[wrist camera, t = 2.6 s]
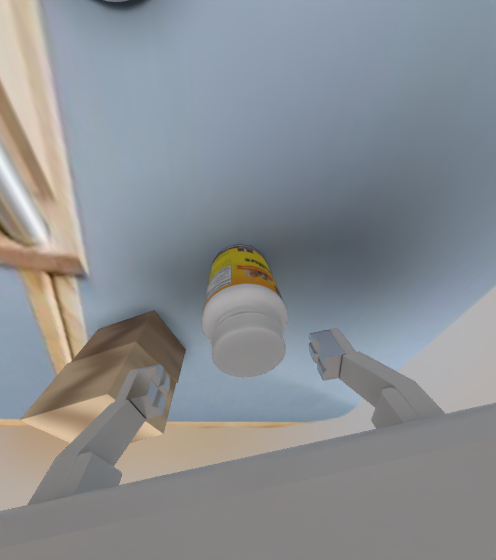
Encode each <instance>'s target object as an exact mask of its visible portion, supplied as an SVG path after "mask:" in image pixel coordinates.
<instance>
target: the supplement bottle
mask: <svg viewBox="0 0 496 560" xmlns="http://www.w3.org/2000/svg"><path fill="white" fill-rule="evenodd" d="M287 323H288V314H287V309H286V307H285V304H284V301H283V299H282V297H281V295H280V292H279V290H278V288H277V285H276V283H275V281H274V278H273V276H272V274H271V271H270V269H269V267H268V265H267V262H266V260H265V259H264V257H263V256H262V255H261V253H259V252H258V251H257V250H255V249H254V248H251V247H248V246H244V245H236V246H231V247H228V248H226V249H224V250H223V251H221V252H220V253H219V254H218V255H217V256H216V258H215V259H214V261H213V264H212V267H211V272H210V278H209V283H208V288H207V293H206V298H205V303H204V309H203V314H202V328H203V331H204V334H205V336H206V338H207V339H208V340H209V341H210V343H211V344H212V359H213V362H214V364H215V365H216V366H217V367H218V368H219V369H220V370H221V371H222V372H224V373H226V374H229V375H232V376H236V377H253V376H258V375H262V374H264V373H267V372H269V371H271V370H272V369H274V368H275V367H276V366H277V365H279V363H280V362H281V361H282V359H283V358H284V355H285V350H286V349H285V343H284V340H283V336H282V335H283V334H284V332H285V330H286V327H287Z"/></svg>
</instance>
